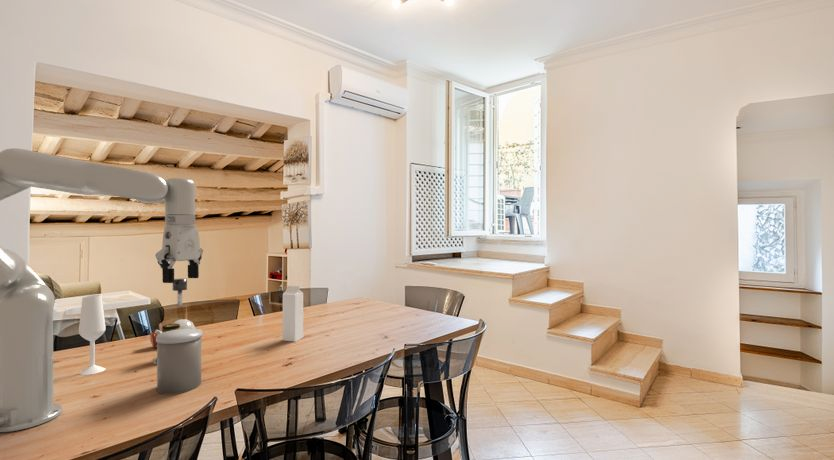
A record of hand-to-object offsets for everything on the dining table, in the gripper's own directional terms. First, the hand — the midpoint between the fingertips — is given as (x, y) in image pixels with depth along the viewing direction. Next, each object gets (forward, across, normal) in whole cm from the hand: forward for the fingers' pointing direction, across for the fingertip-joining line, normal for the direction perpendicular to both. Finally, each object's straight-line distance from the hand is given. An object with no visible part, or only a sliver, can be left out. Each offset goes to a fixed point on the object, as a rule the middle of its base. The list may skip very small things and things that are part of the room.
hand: (181, 280), depth 116 cm
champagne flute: (+31, +5, +36) cm, 48 cm away
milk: (+31, +50, -10) cm, 60 cm away
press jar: (+31, -1, 0) cm, 31 cm away
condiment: (+31, +19, +22) cm, 42 cm away
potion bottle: (+31, +35, +32) cm, 57 cm away
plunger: (+7, 0, 0) cm, 7 cm away
